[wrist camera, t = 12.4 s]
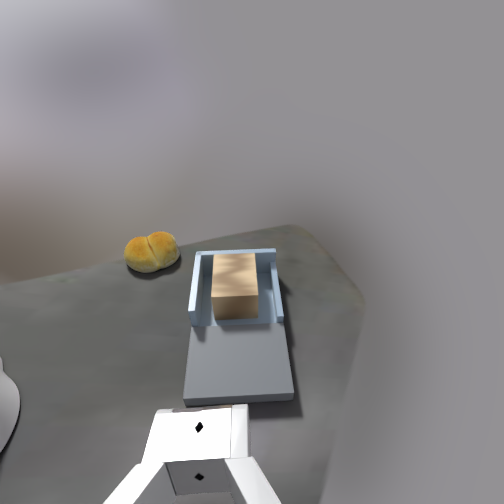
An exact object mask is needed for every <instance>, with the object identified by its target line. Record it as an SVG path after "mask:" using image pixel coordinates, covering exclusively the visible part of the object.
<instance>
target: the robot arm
mask: <svg viewBox="0 0 504 504" xmlns="http://www.w3.org/2000/svg"><path fill="white" fill-rule="evenodd" d="M19 407H20V397H19V392H18V389H17V387H16V385H15V383H14V382H13V381H12V380H11V379H10V378H9V377H8V376H7V375H6V374H5V373H4V371H3V363H2V359H1V357H0V452H1V451H2V449H3V448H4V446H5V444H6V443H7V441H8V439H9V437H10V435H11V433H12V431H13V429H14V426H15V424H16V421H17V418H18V414H19ZM222 492H231V495H232V498H233V500H234V502H235V504H281V502H280V500H279V499H278V497H277V495H276V494H275V492H274V491H273V489H272V487H271V486H270V484H269V482H268V481H267V479H266V477H265V476H264V474H263V472H262V471H261V469H260V467H259V466H258V464H257V462H256V461H255V459H254V457H251V433H250V421H249V410H248V404H240V405H220V406H208V407H201V408H181V409H161V410H158V411H157V412H156V414H155V417H154V420H153V424H152V427H151V431H150V434H149V438H148V441H147V445H146V449H145V452H144V456H143V459H142V463H141V464H136V465H135V466H134V468H133V469H132V470H131V471H130V472H129V474H128V475H127V476H126V477H125V478H124V479H123V481H122V482H121V483H120V484H119V485H118V486H117V488H116V489H115V490H114V491H113V492H112V494H111V495H110V496H109V497H108V498H107V499H106V501H105V502H104V503H103V504H173V503H174V501H175V499H176V496H178V495H189V494H199V493H222Z"/></svg>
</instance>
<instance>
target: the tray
mask: <svg viewBox="0 0 504 504" xmlns="http://www.w3.org/2000/svg"><path fill="white" fill-rule="evenodd" d="M240 253H255V263H256V274H257V286H258V318H253V319H232V320H215V319H214V312H213V306H212V300H211V291H212V276H213V260H214V255H216V254H240ZM275 257H276V250H275V249H249V250H224V251H198V252H196V256H195V264H194V271H193V279H192V286H191V294H190V301H189V309H188V312H189V316H190V320H191V324H192V327H201V326H222V325H244V324H265V323H283V318H284V315H283V308H282V302H281V295H280V289H279V283H278V276H277V270H276V263H275Z"/></svg>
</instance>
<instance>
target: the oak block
mask: <svg viewBox="0 0 504 504" xmlns="http://www.w3.org/2000/svg"><path fill="white" fill-rule="evenodd" d="M211 300H212V306H213V312H214V319H215V320H232V319H253V318H258V286H257V274H256V263H255V253H240V254H216V255H214V260H213V276H212V291H211Z"/></svg>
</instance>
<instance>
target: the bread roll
mask: <svg viewBox="0 0 504 504" xmlns="http://www.w3.org/2000/svg"><path fill="white" fill-rule="evenodd" d="M179 256H180V252H179V248H178V245H177V244H176V241H175V238H174V236H172V235H171V234H169V233H166V232H155V233H152V234H151V235H150V236H148V237H136V238H134V239H132V240H131V241H130V242H129V243H128V245H127V246H126V248H125V251H124V259H125V261H126V263H127V265H128V266H129V267H131V268H132V269H134V270H136V271H139V272H143V273H149V272H154V271H157V270H159V269H160V268H166V267H168V266H170V265H172V264H173V263H175V262H176V261H177V259H178V257H179Z"/></svg>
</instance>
